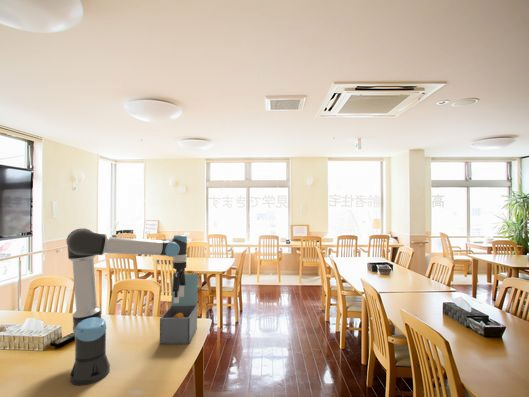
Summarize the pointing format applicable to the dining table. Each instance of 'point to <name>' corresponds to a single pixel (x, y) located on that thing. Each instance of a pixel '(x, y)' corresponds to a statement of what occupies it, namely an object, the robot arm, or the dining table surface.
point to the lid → (187, 291)
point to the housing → (178, 325)
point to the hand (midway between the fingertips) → (178, 299)
